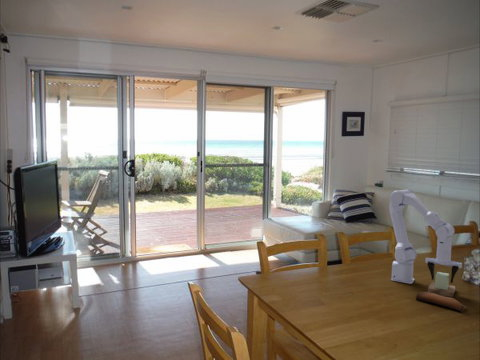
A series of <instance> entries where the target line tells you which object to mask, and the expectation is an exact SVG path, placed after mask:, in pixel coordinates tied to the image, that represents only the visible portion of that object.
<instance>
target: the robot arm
mask: <svg viewBox="0 0 480 360" xmlns="http://www.w3.org/2000/svg"><path fill="white" fill-rule="evenodd" d="M389 200H390V201H389V204H388V205H389V206H388V210H389V214H390V218H391V221H392V228H393V232H394V235H395V236H394V237H395V239H396V246H395V247H394V250H395V252H394V257H395V260H393V261H392V264H391V278H390V280H391V281H392V282H393V281H394V282H399V283H405V284H409V285H410V284H413V283H414V281H415V278H414V262H415V260H416V258H417V257H418V256H417V255H418V254H417V251H416V249H415V248H414V245H413V244H412V243H411V242H410V241H409V240H410V239H409V236H408V233H407V231H408V230H407V227H406V223H405V219H404V214H403V208H404V207H405V206H406V205H407V206H411V207H413V208H414V209H415V210H416V211H417V212H418V213H419V214H421V215H422V216H423V217H424V218H423V219H424V222H426V224H428V225H429V226H430V227H431V228H432V229H433V230H434V232H435V235H436V237H437V242H436V243H437V244H436V245H437V246H436V258H433V257H432V258H431V257H425V259H424V260H425V261H424V262H425V263H426V264H427V268H428V270H429V272H430V276H431V281H432V280H433V281H435V280H434V279H435V265H441V266H446V267H451V275H450V283H451V284H453V283H454V278H455V275H456V273H458V270H459V269H462V267H463V266H462V265H463V263H462V262H458V261H454V260H451V257H452V244H453V243H452V240H453V239H452V238H453V236H454V235H455V231H456V230H455V228H454V226H453V225H452V224H451V223H447V221H446V220H444V219H442V218H441V216H439V213H438V212H435V211H430V210H429V209H428V208H427V206H426V205H424V203H422V201H420V199H418V197H417V196H416V194H415V193H414V192H412V191H411V190H410V189H406V188H405V189H401V190H399V189H397V190H393V191H392V192H391V194H390V195H389Z"/></svg>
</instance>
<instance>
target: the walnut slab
mask: <svg viewBox="0 0 480 360" xmlns="http://www.w3.org/2000/svg"><path fill="white" fill-rule="evenodd" d="M427 292H429V293H434V294H437V295H440V296H444V297H450V298H453V297H454V295H455V293H456V286H455V285H451V284H449V286H448V289H447V290H445V289H439V288H435V281H431V282H430V284H429V285H428V287H427Z"/></svg>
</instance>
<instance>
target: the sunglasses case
mask: <svg viewBox="0 0 480 360" xmlns="http://www.w3.org/2000/svg"><path fill="white" fill-rule="evenodd" d="M415 299H416V301H422V302H426V303H431V304H434V305H439V306H442V307H446V308H448V309H452V310H456V311H459V312H460V313H463V311H464V310H466V309H467V306H465V305H464V304H463V303H461V302H460V301H458V300H457V299H455V298H453V297H449V296H444V295H439V294H434V293H429V292H428V291H419V292H418V293H416V296H415Z"/></svg>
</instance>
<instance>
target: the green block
mask: <svg viewBox="0 0 480 360" xmlns="http://www.w3.org/2000/svg"><path fill="white" fill-rule="evenodd" d="M434 279H435V280H434V282H435V288H439V289H445V290H447V289H448V286H449V285H450V284H449V283H450V282H449V281H450V273H446V272H441V271H437V272H436V273H435V274H434Z"/></svg>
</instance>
